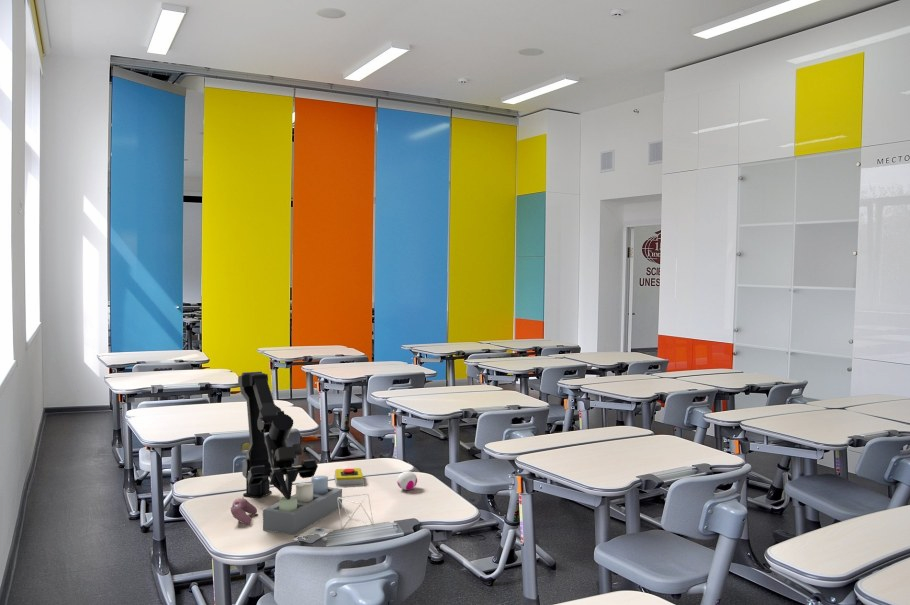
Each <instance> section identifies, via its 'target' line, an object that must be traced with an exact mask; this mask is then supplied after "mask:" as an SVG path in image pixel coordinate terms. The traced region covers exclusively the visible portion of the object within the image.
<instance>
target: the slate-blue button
mask: <svg viewBox="0 0 910 605" xmlns="http://www.w3.org/2000/svg"><path fill="white" fill-rule="evenodd" d="M310 478H311V482H310V483H312V484H313V494H318V495H324V494H326V493H328V487H329V476H326V475H314V476H313V477H310Z"/></svg>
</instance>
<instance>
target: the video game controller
mask: <svg viewBox="0 0 910 605" xmlns="http://www.w3.org/2000/svg"><path fill="white" fill-rule="evenodd" d="M230 513H231V514H232V517H233V518H234V519H236V520H237V521H238V522H239V523H241V524H244V525H251V523H252V518H251V517H250V515H257V513H258V509H257V507H256V506H255V505H254V504H252V503H250V502H249V501H248V499H246V498H244V497H242V498H240V497H238V498H236V499H235V500H233V501H232V505H231V507H230ZM249 514H250V515H249Z"/></svg>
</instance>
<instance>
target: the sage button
mask: <svg viewBox="0 0 910 605" xmlns="http://www.w3.org/2000/svg"><path fill="white" fill-rule="evenodd" d="M278 500H279V501H278V502H279V510H282V511H289V512H292V511H294V510H296V509H297V498H296V497H292V495H291V498H290V499H289V500H287V499H286V498H285V497H284V496H283V497H280V498H279V499H278Z"/></svg>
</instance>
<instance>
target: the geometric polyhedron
mask: <svg viewBox="0 0 910 605" xmlns="http://www.w3.org/2000/svg"><path fill="white" fill-rule="evenodd" d="M359 496H360V494H355V495H353V494H352V495H345V496H344V498H343V496H342V497H338V498H339V499H342V501H347V502H351V503H354V504H358V506H357V508H356V509H355V511H354V512H353V513H352V515H351V516H350V515H349V514H348V512H347V510H346V508H345V507H344V505H343V502H342V503H341V502H340V500H339V499H338V498H337V500H339V502H340V503H341V505H342V507H341V508H343V510H344V511H345V513H346V515H347V517H348V518H349V519H348V520H347V522H346V523H345V525H344V526H343V524H342V517H341V510H340V509H341V508H340V509H338V512H339V513H338V514H339V520H340V521H339V522H340V527H341V528H340V529H341V530H343V529H345V530H350V529H349V528H350V527H348V528H345V527H346V525H347V524H348V523H349V521H351V520H354V521H357V522H360V523H363V524H368V525H370V524H374V520H373V512H372V508H371V507H372V506H371V501H370V494H369V493H363V494H361V496H365V497H364V498H363V500H362V501H361V502H356V501H354V500H353V501H352V500H349V499H345V498H349V497H359ZM367 497H368V502H369V503H368V504H369V508H370V509H369V510H370V515H371V517H370V516H369V515H368V513H367V511H366V510H365V508H364V506H363V505H362V504H363V502H365V500H366V498H367ZM339 502H338V507H339ZM360 506H361V507H362V509H363V511H364V513H365V514H366V516H367V517H368V519H369V521H370V522H371V523H368V522H366V521H361V520H359V519H355V518H352V517H353V516H354V515H355V513H356V512H357V511H358V509H359V508H360Z"/></svg>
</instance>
